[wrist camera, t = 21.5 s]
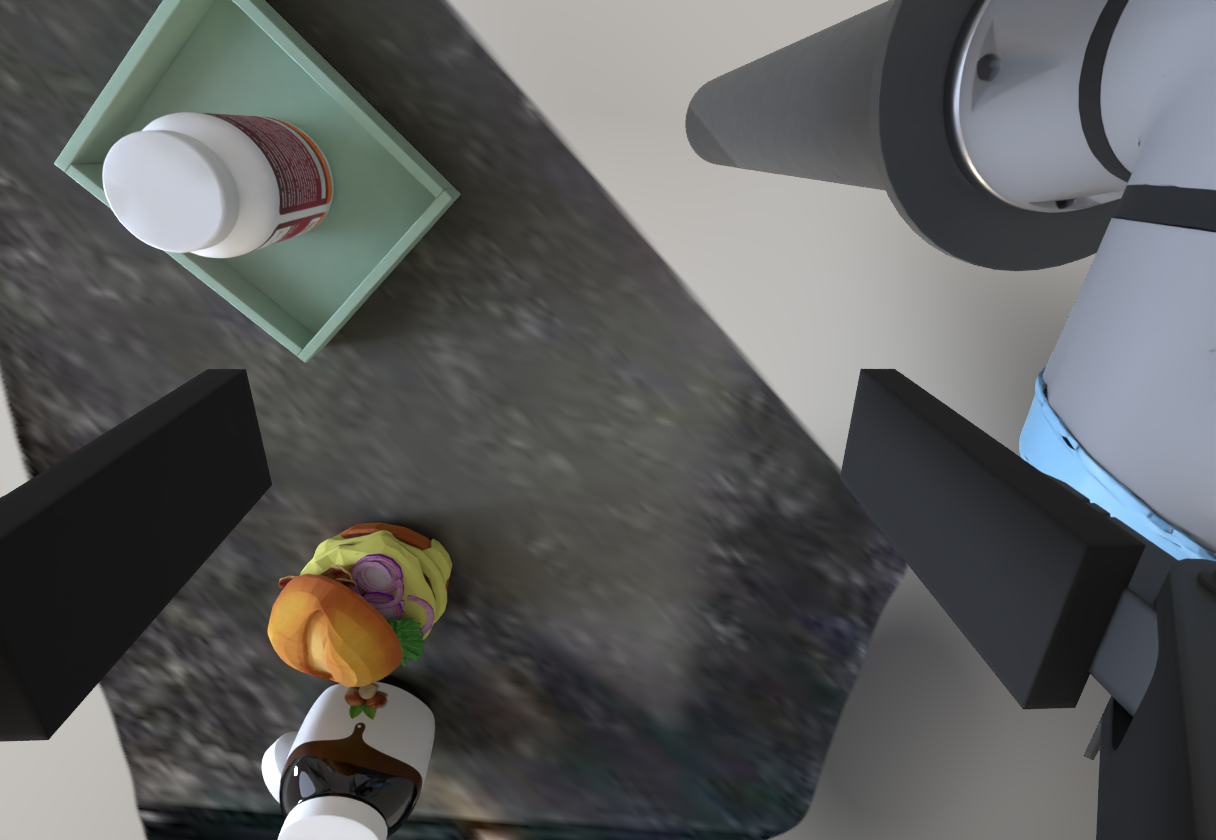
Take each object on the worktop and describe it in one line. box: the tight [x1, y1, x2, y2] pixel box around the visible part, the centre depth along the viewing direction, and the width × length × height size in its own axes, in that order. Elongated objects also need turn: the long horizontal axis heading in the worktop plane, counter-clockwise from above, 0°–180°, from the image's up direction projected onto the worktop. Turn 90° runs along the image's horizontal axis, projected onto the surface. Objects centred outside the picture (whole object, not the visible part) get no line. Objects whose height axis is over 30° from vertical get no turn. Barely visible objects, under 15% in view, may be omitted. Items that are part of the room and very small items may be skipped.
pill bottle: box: [102, 112, 334, 258], centre depth 30 cm, size 6×6×11 cm
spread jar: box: [262, 677, 435, 840], centre depth 48 cm, size 12×11×12 cm
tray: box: [54, 0, 461, 362], centre depth 34 cm, size 15×13×3 cm
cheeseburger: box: [268, 522, 452, 687], centre depth 44 cm, size 10×11×10 cm
